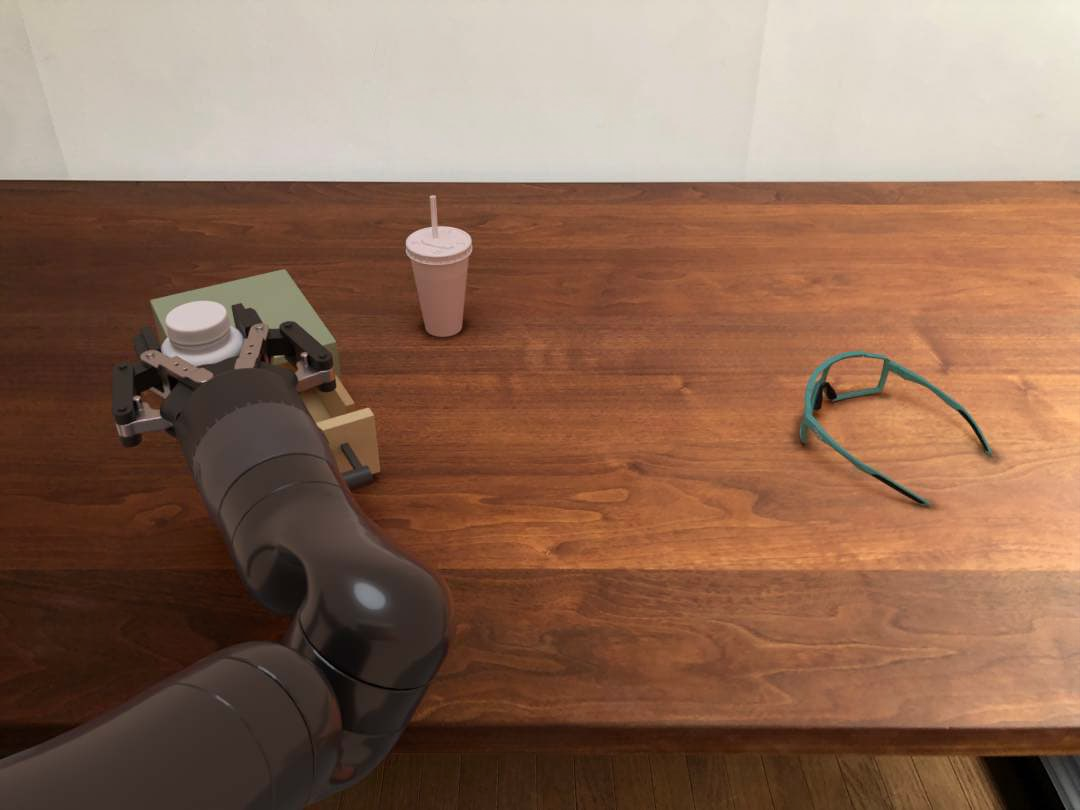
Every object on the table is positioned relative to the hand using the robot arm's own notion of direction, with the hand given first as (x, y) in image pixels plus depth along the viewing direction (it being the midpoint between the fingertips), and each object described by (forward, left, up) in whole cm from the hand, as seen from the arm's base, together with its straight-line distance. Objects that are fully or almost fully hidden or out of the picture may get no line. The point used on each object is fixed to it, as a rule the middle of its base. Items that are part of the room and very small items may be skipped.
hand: (194, 326), depth 73 cm
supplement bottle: (0, -3, -8) cm, 9 cm away
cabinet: (+6, +17, -18) cm, 25 cm away
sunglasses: (+52, -16, -18) cm, 57 cm away
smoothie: (+26, +19, -18) cm, 37 cm away
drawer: (+6, +3, -17) cm, 18 cm away
